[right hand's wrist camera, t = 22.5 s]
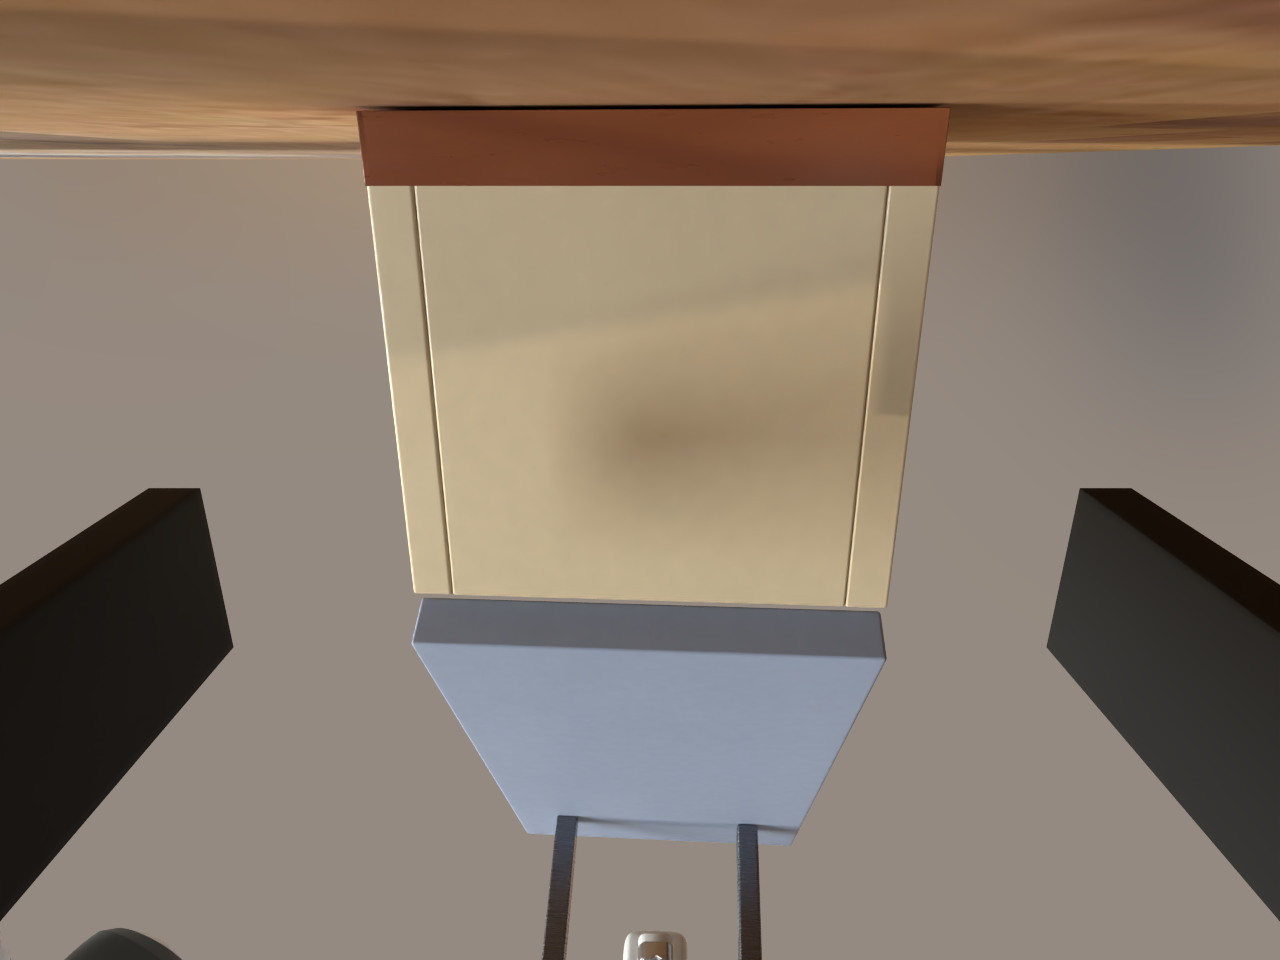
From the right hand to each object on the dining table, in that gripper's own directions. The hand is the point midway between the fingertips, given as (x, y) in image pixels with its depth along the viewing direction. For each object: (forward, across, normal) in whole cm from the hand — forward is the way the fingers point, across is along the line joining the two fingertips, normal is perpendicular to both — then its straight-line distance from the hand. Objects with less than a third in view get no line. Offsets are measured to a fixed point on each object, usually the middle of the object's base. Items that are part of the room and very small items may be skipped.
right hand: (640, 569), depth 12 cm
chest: (+12, -1, -7) cm, 14 cm away
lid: (+9, 0, +10) cm, 14 cm away
